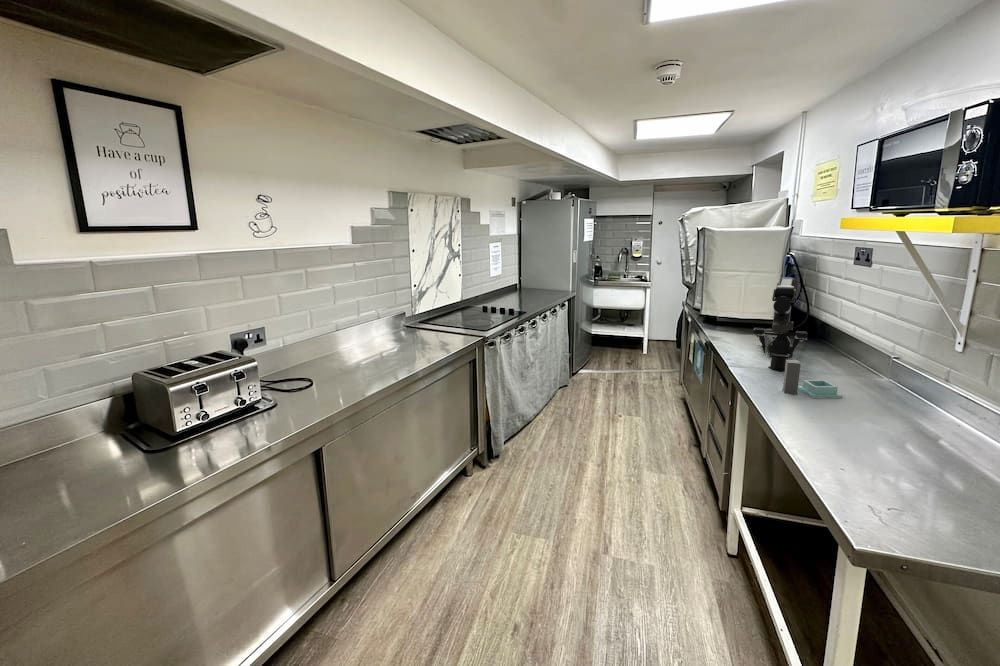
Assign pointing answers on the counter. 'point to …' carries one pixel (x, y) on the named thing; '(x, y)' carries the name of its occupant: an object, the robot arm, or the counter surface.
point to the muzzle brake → (768, 340)
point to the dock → (819, 389)
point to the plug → (791, 376)
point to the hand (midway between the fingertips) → (777, 354)
